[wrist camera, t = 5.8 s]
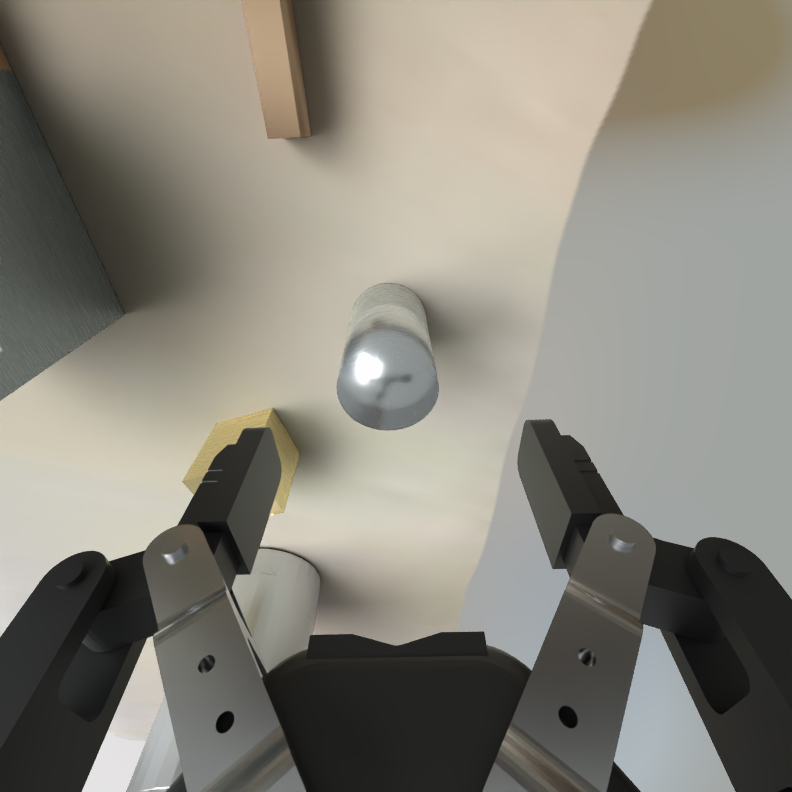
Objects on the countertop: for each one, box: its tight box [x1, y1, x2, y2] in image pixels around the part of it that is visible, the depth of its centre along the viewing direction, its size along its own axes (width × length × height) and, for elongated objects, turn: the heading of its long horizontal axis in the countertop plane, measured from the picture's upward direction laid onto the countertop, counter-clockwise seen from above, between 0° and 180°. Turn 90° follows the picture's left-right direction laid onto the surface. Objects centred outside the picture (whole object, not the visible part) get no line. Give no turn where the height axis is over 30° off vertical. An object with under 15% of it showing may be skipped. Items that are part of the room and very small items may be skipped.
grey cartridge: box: [337, 283, 439, 430], centre depth 18 cm, size 4×4×7 cm
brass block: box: [182, 408, 300, 516], centre depth 24 cm, size 4×4×5 cm
